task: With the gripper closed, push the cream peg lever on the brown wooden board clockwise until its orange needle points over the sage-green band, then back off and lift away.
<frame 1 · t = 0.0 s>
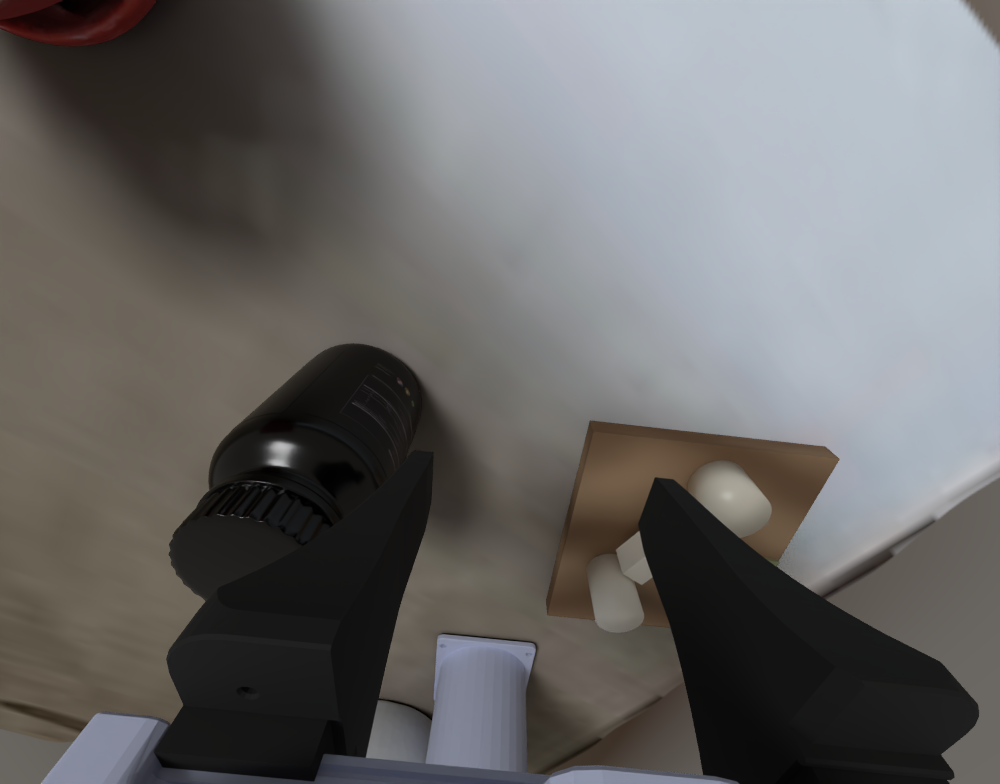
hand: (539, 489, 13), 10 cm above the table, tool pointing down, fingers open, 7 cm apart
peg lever: (668, 550, 23), point 3 cm above the table, hinge at -30.0°
brown wooden board: (667, 533, 27), on the table
pitcher: (381, 707, 39), on the table
supplement bottle: (367, 394, 24), on the table
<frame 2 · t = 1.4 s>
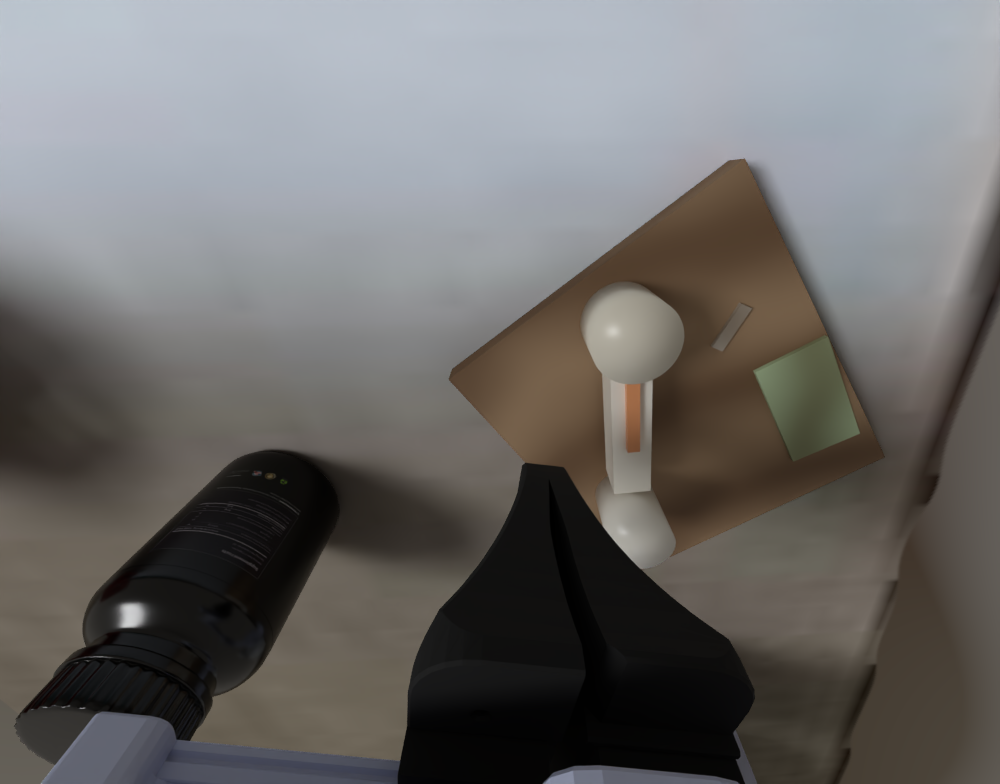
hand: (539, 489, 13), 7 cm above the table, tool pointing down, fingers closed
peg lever: (631, 434, 17), point 3 cm above the table, hinge at -30.0°
brown wooden board: (664, 407, 20), on the table
supplement bottle: (286, 492, 24), on the table
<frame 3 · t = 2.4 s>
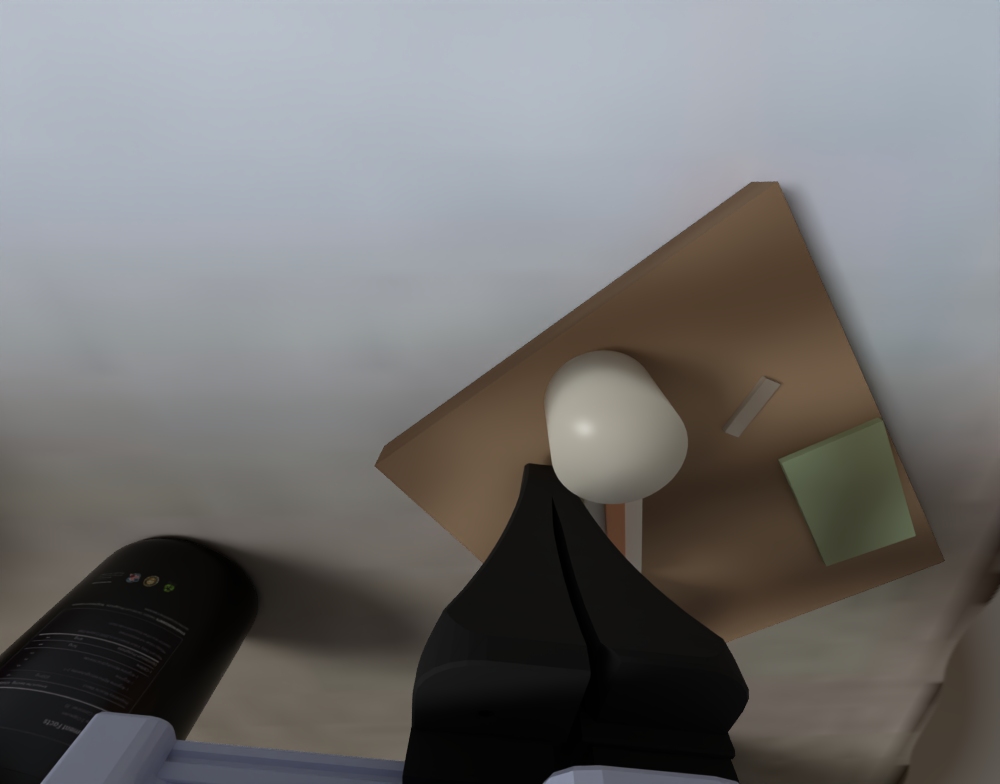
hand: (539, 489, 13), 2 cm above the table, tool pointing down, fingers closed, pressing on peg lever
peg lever: (614, 553, 12), point 3 cm above the table, hinge at -30.0°, touching gripper
brown wooden board: (660, 492, 16), on the table
supplement bottle: (194, 581, 19), on the table
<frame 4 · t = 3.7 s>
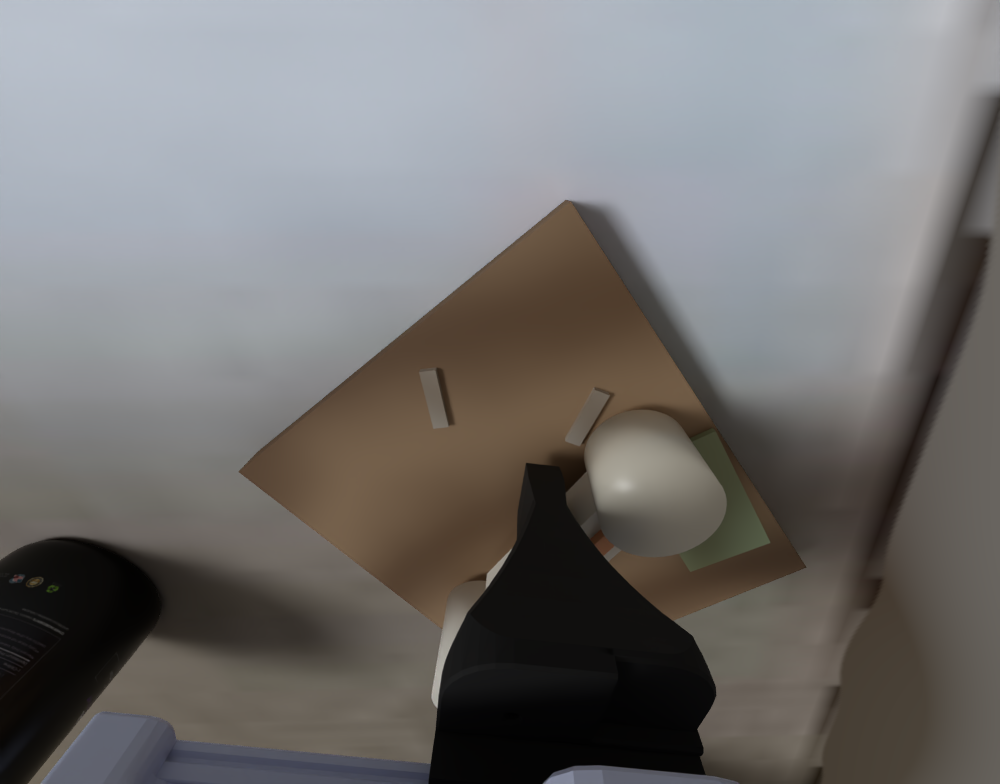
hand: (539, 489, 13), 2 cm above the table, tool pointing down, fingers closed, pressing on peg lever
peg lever: (554, 577, 13), point 3 cm above the table, hinge at -71.9°, touching gripper
brown wooden board: (531, 498, 16), on the table
supplement bottle: (98, 581, 20), on the table
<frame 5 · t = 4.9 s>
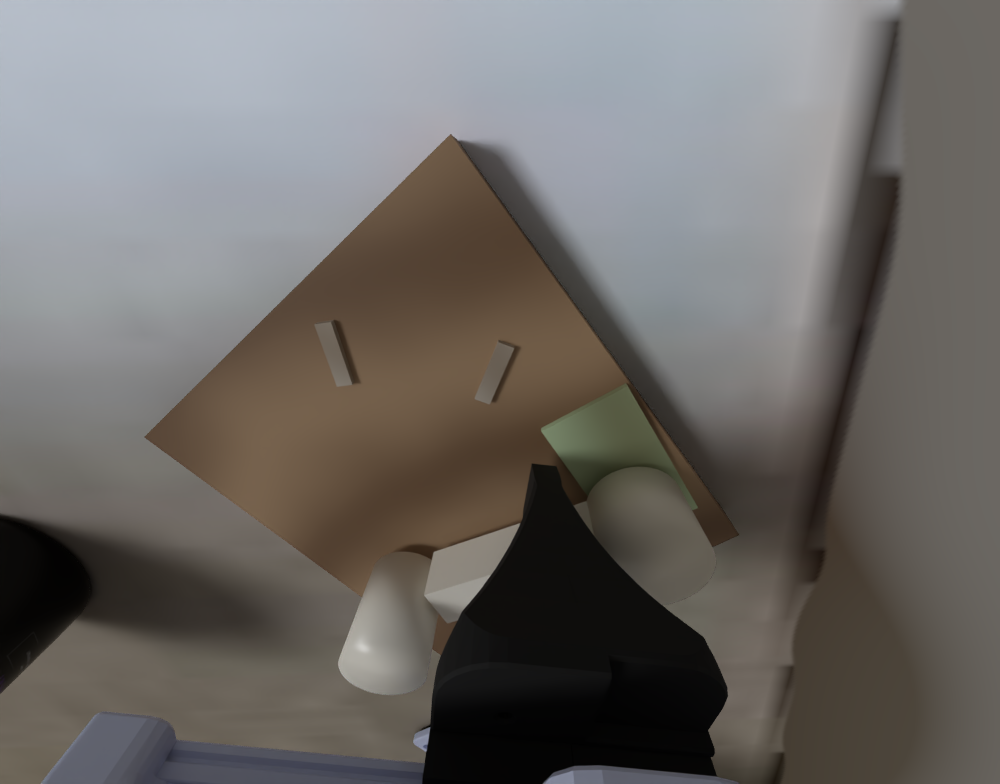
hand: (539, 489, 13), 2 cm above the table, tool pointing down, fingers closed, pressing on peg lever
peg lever: (515, 583, 13), point 3 cm above the table, hinge at -102.7°, touching gripper
brown wooden board: (457, 467, 15), on the table
supplement bottle: (25, 562, 19), on the table
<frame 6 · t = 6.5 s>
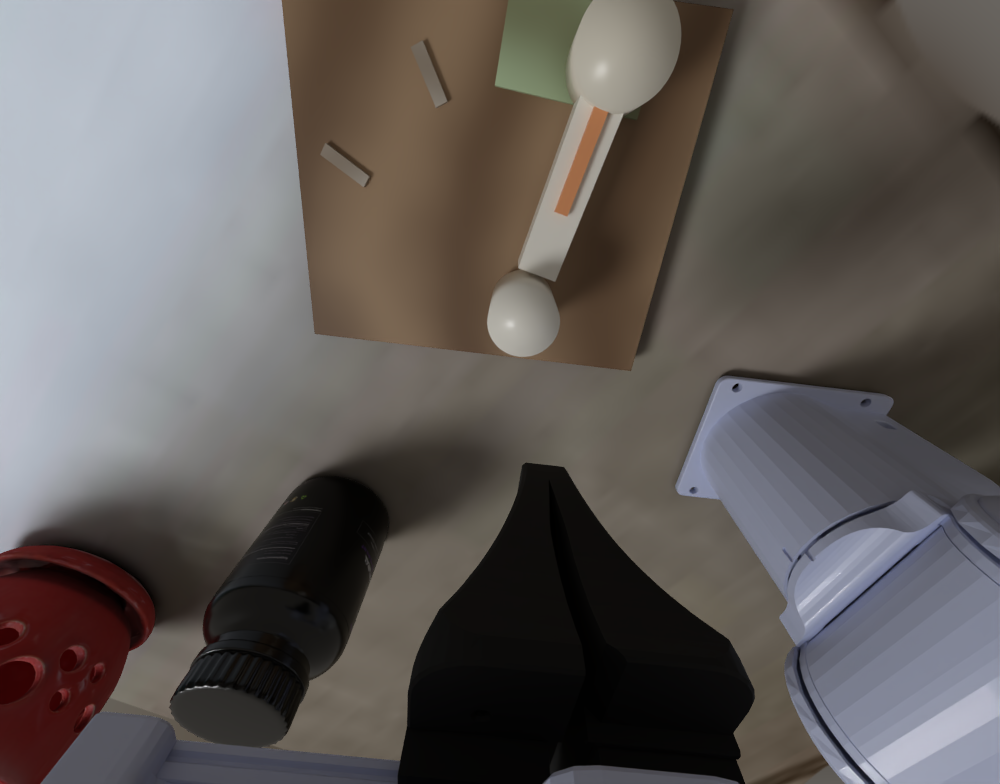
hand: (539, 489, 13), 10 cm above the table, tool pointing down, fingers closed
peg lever: (566, 197, 15), point 3 cm above the table, hinge at -102.9°
plant pot: (96, 587, 32), on the table
brown wooden board: (489, 198, 18), on the table
supplement bottle: (342, 509, 27), on the table
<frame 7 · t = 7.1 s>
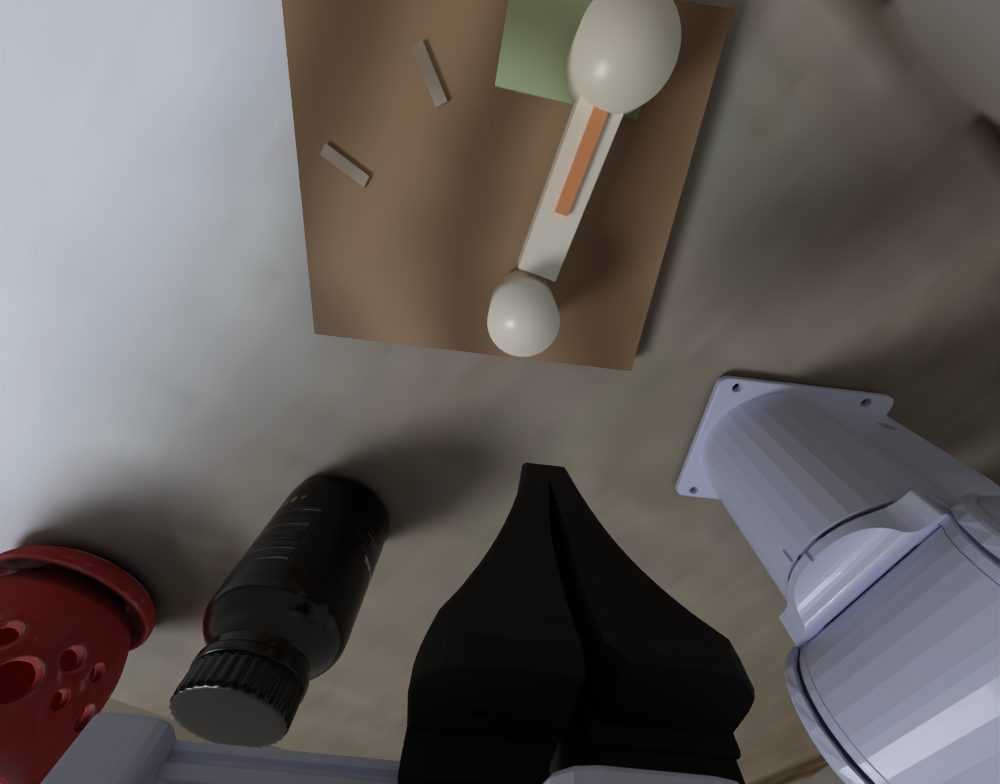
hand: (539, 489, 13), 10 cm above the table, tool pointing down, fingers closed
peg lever: (566, 197, 15), point 3 cm above the table, hinge at -102.9°
plant pot: (96, 587, 32), on the table
brown wooden board: (489, 198, 18), on the table
supplement bottle: (342, 509, 27), on the table
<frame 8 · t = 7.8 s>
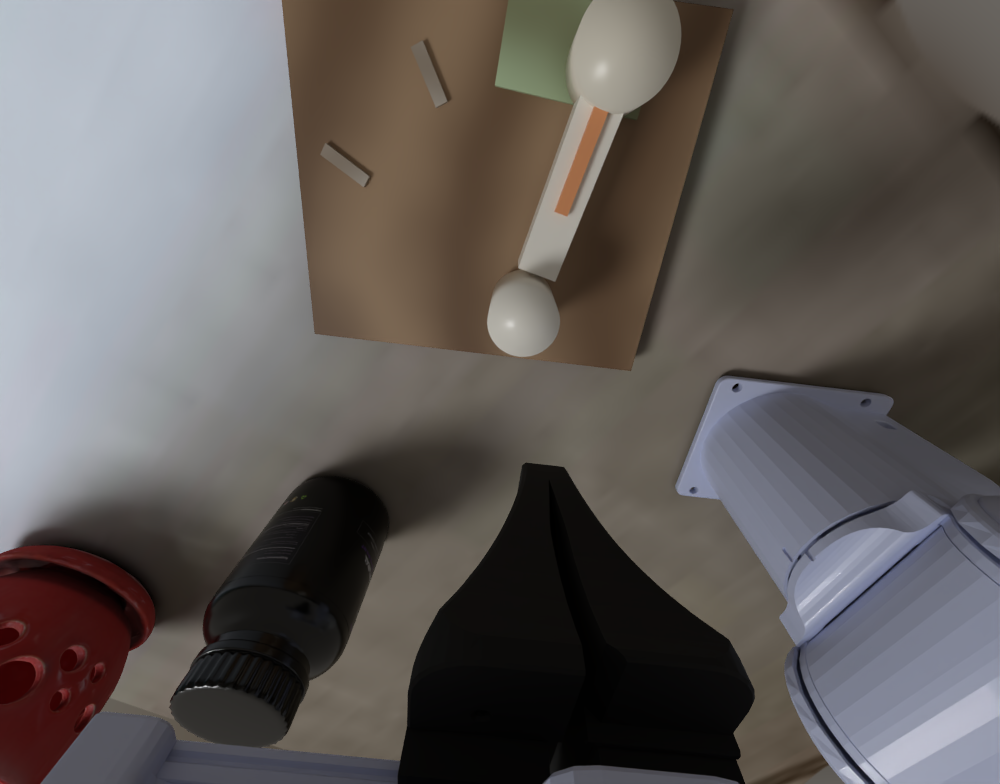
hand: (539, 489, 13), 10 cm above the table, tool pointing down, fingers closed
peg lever: (566, 197, 15), point 3 cm above the table, hinge at -102.9°
plant pot: (96, 587, 32), on the table
brown wooden board: (489, 198, 18), on the table
supplement bottle: (342, 509, 27), on the table
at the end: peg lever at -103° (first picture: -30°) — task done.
